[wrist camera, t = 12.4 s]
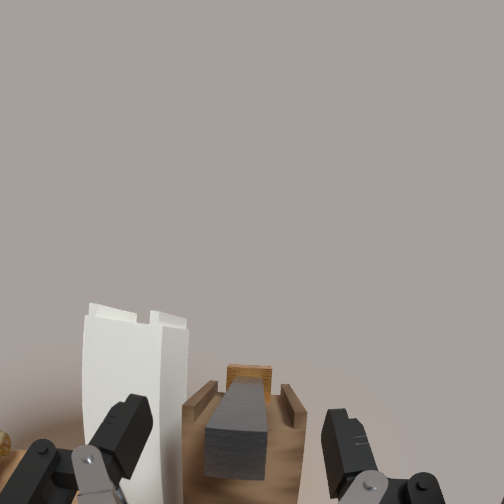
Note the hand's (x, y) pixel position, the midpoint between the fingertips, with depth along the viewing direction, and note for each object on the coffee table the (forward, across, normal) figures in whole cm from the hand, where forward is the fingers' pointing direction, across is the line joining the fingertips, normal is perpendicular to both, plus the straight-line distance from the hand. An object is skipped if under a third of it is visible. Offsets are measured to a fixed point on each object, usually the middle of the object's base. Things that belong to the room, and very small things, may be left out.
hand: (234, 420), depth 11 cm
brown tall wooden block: (+1, 0, +33) cm, 33 cm away
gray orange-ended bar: (+8, 0, +9) cm, 13 cm away
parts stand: (+5, +14, +35) cm, 38 cm away
